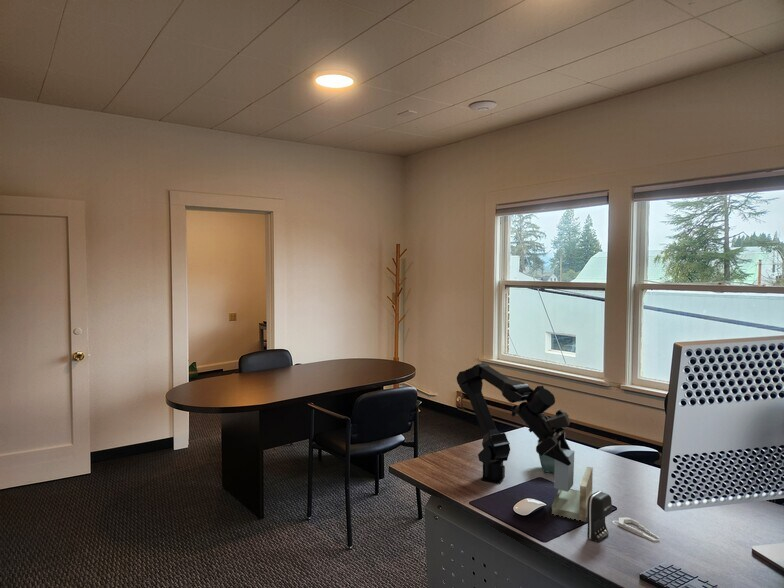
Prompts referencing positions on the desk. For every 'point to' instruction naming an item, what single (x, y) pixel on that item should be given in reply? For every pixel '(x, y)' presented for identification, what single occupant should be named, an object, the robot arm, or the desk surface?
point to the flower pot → (547, 463)
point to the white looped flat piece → (627, 527)
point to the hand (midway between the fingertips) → (571, 461)
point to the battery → (598, 515)
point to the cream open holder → (574, 499)
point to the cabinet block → (564, 472)
